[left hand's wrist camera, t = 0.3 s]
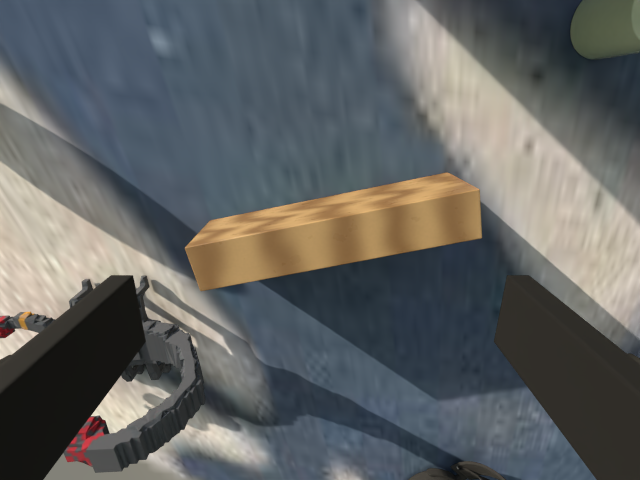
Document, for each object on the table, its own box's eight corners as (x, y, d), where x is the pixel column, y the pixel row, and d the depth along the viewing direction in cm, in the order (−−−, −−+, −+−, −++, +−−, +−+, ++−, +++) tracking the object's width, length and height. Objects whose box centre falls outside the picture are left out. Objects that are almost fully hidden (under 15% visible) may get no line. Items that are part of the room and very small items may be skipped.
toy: (240, 365, 46) (194, 519, 29) (36, 376, 47) (-128, 534, 30) (223, 271, 41) (156, 389, 24) (-4, 284, 42) (-226, 409, 25)
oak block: (222, 257, 41) (200, 291, 34) (209, 220, 39) (184, 247, 32) (451, 212, 39) (482, 238, 32) (448, 172, 38) (479, 189, 30)
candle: (571, -7, 32) (635, -36, 25) (641, -24, 32) (725, -57, 25) (568, 66, 34) (628, 57, 28) (634, 51, 34) (710, 39, 27)
